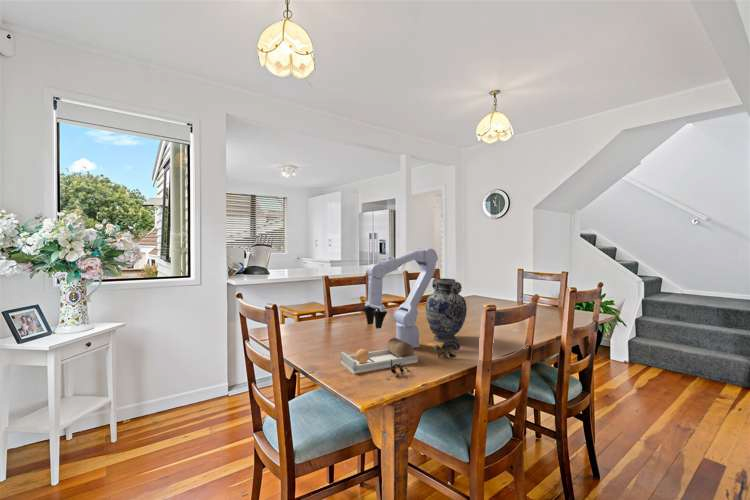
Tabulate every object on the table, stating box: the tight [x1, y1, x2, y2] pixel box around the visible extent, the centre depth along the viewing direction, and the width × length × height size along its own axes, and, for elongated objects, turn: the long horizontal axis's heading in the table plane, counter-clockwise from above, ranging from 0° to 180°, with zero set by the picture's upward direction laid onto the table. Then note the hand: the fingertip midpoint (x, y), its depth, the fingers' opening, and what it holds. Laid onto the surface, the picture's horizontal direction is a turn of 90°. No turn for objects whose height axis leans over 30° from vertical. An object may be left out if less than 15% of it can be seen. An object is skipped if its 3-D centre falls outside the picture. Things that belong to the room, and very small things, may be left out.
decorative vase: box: [425, 278, 468, 343], centre depth 164 cm, size 21×19×28 cm
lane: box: [340, 348, 418, 375], centre depth 132 cm, size 26×12×4 cm, turn 117°
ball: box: [355, 348, 369, 363], centre depth 129 cm, size 5×5×5 cm
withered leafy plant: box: [433, 341, 461, 360], centre depth 139 cm, size 8×7×9 cm
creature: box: [390, 359, 413, 379], centre depth 120 cm, size 8×5×8 cm
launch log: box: [386, 337, 415, 358], centre depth 136 cm, size 6×10×6 cm, turn 27°
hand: (374, 326), depth 146 cm, fingers open, 7 cm apart
